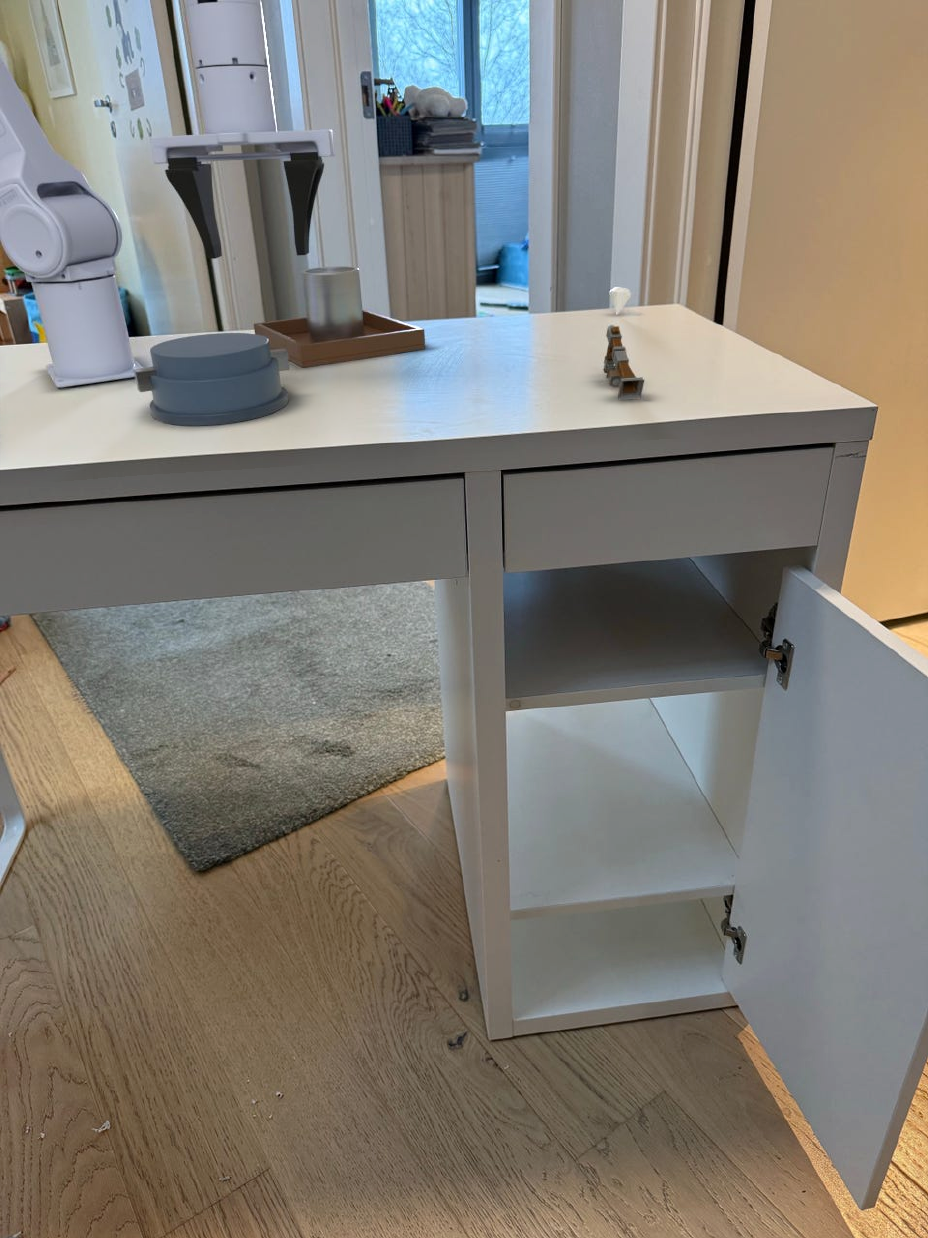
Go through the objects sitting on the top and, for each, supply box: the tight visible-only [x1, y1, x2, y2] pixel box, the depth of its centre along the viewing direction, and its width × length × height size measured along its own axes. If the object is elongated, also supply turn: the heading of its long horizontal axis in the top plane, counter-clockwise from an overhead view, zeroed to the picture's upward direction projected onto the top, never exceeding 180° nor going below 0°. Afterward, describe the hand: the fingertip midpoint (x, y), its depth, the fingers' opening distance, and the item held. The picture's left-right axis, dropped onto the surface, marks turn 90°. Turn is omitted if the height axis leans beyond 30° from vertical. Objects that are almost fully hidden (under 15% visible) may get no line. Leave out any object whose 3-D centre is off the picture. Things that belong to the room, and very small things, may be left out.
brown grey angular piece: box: [602, 324, 645, 401], centre depth 71 cm, size 2×8×4 cm, turn 6°
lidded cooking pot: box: [134, 332, 291, 427], centre depth 69 cm, size 11×12×5 cm
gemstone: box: [608, 286, 634, 315], centre depth 100 cm, size 3×3×3 cm
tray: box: [253, 309, 426, 368], centre depth 90 cm, size 15×13×2 cm
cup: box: [300, 265, 365, 344], centre depth 89 cm, size 6×6×7 cm
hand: (259, 255), depth 74 cm, fingers open, 7 cm apart
